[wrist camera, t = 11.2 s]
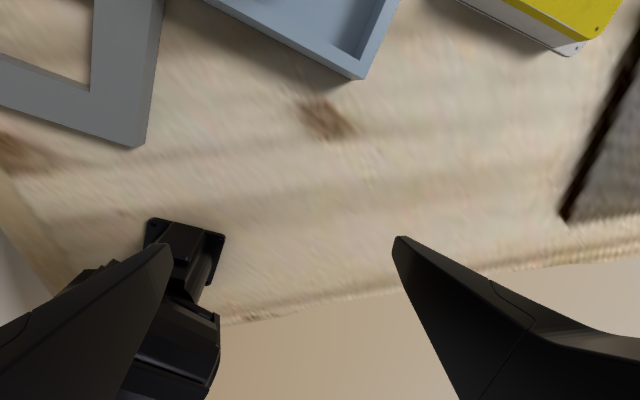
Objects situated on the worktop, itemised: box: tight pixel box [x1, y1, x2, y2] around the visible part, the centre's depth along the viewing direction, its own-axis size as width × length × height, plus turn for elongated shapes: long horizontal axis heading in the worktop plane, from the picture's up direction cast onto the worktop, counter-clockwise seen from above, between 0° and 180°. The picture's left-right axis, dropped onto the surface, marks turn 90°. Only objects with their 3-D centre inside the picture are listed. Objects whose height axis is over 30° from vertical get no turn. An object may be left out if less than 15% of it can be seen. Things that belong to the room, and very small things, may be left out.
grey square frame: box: [0, 0, 165, 148], centre depth 13 cm, size 11×11×2 cm
